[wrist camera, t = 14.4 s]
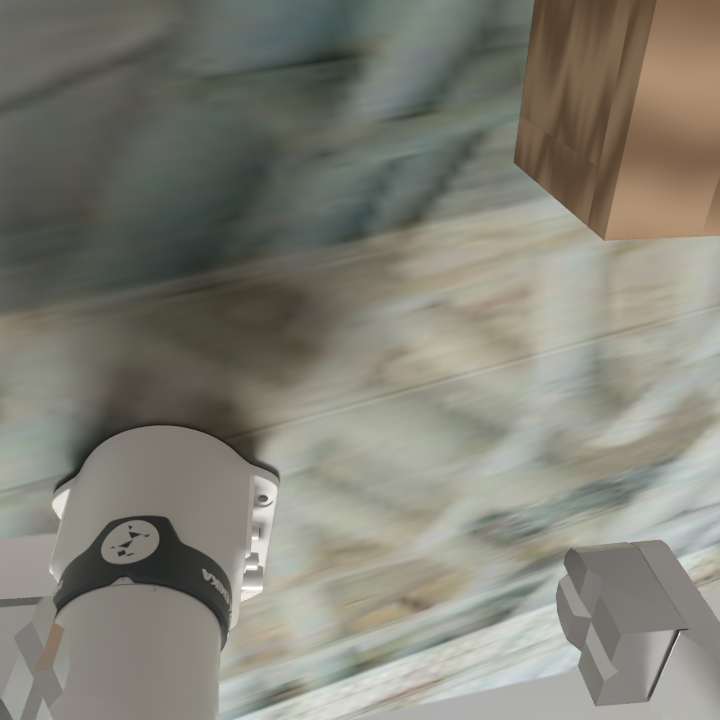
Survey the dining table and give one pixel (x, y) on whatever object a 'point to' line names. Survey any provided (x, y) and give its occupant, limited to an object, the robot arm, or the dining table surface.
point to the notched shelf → (626, 114)
